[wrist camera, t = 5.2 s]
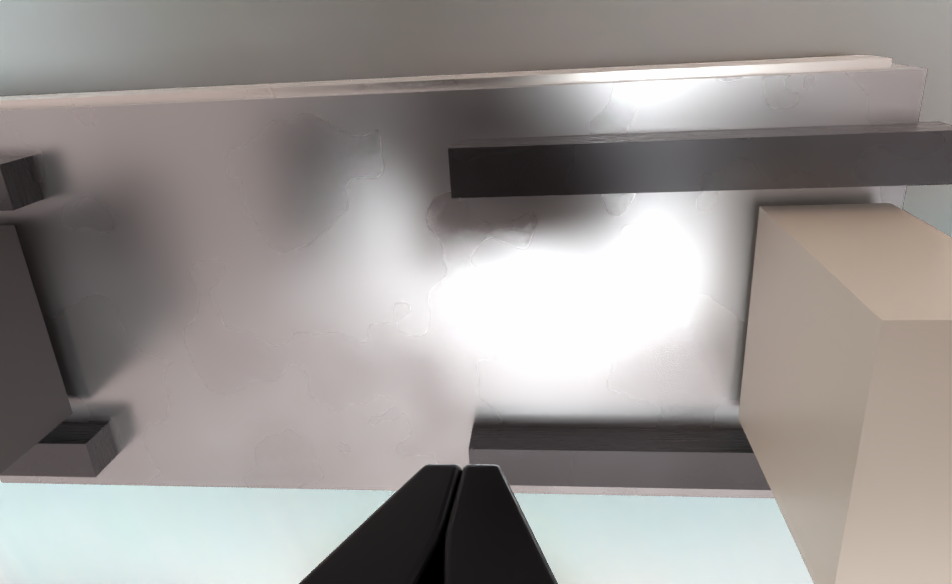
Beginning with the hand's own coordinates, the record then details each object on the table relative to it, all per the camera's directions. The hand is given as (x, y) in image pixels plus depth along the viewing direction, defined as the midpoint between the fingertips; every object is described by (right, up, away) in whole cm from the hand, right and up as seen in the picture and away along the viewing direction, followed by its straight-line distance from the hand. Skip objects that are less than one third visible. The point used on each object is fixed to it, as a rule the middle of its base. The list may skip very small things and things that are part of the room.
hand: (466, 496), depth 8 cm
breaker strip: (-2, +3, +7) cm, 8 cm away
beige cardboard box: (+6, +2, +4) cm, 7 cm away
